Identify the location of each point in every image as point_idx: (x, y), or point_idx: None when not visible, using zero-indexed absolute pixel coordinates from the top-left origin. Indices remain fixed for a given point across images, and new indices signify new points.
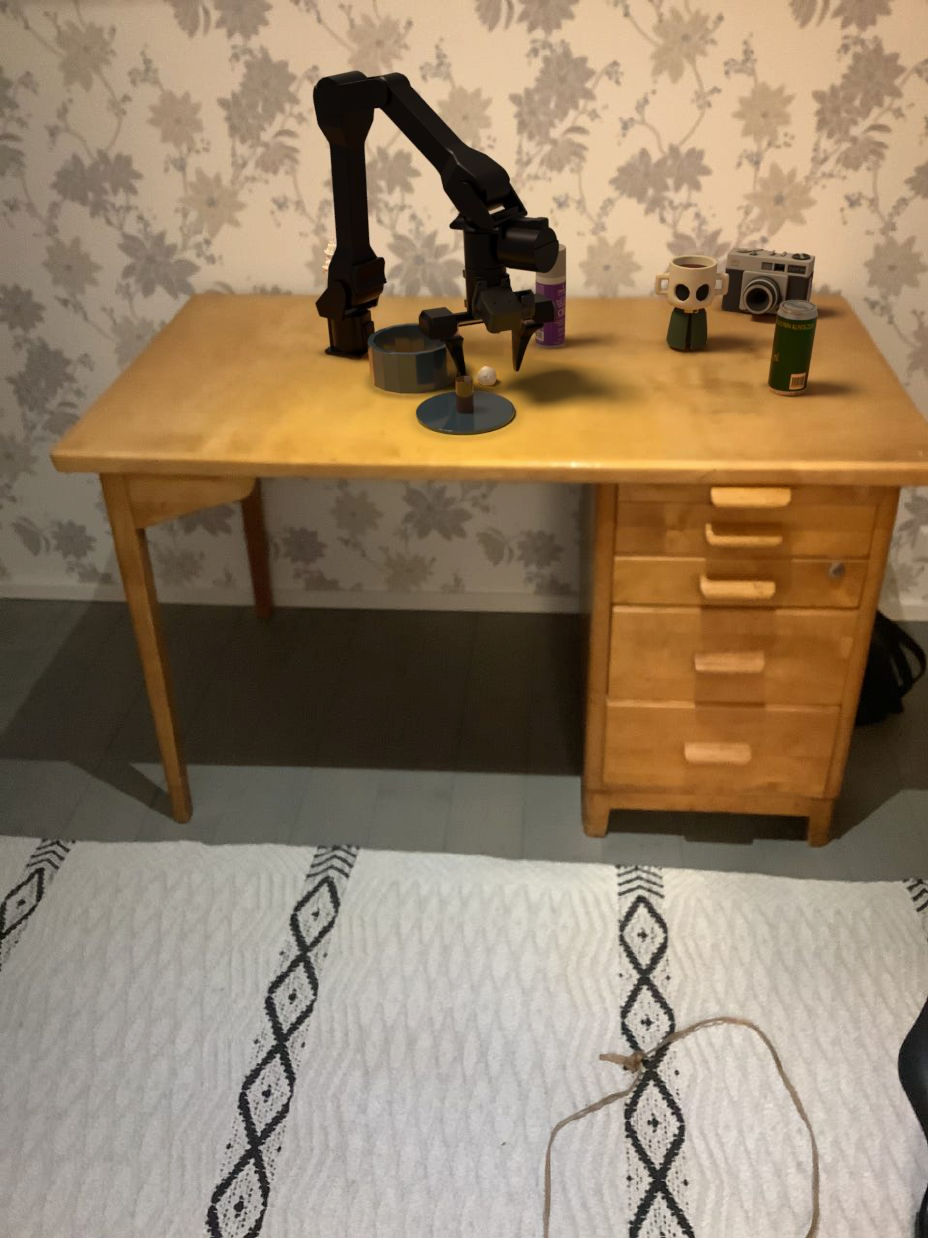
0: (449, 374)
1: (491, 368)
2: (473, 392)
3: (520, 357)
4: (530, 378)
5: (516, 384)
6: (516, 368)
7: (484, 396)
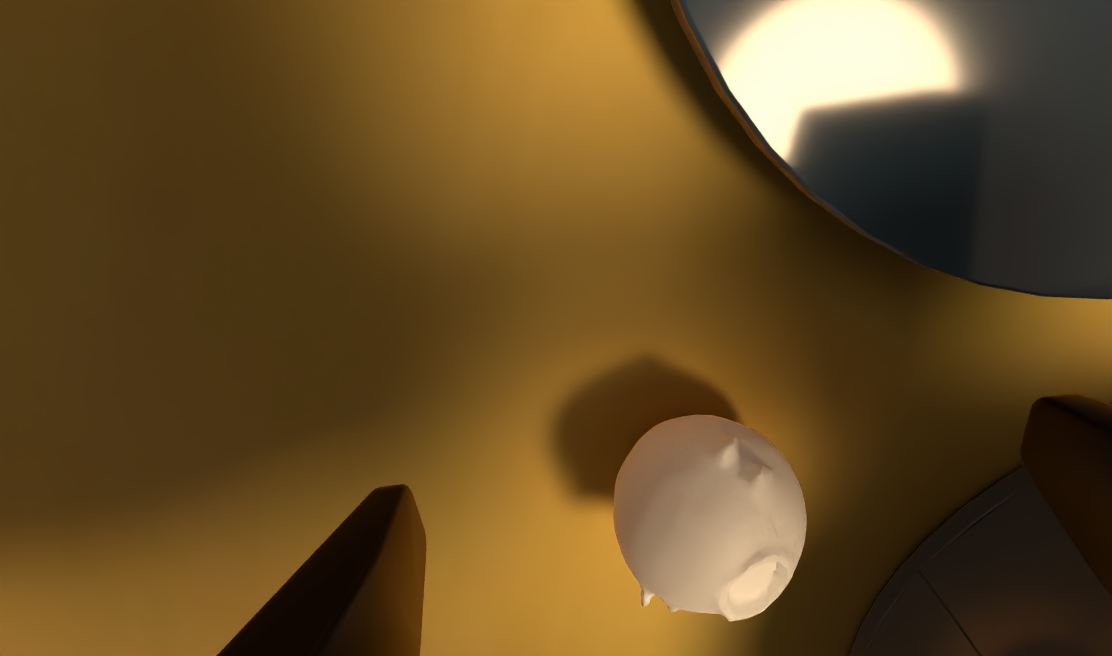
0: (1074, 576)
1: (676, 572)
2: (959, 216)
3: (296, 614)
4: (292, 514)
5: (427, 432)
6: (397, 504)
7: (894, 59)
